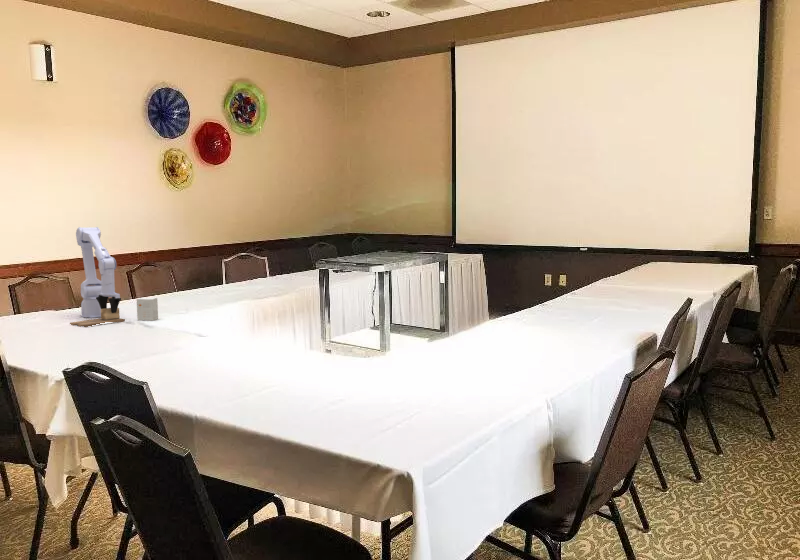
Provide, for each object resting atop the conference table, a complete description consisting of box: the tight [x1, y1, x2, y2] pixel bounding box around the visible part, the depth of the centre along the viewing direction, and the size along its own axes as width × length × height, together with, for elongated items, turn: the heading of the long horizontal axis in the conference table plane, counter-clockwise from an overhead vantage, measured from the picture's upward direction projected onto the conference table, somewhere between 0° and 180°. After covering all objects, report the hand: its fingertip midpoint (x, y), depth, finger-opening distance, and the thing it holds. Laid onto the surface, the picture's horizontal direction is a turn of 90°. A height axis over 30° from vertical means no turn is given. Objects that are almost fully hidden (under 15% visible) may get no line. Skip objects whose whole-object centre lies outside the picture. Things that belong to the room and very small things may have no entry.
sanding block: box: [100, 307, 121, 320], centre depth 310 cm, size 4×7×5 cm, turn 149°
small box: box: [136, 297, 159, 322], centre depth 315 cm, size 8×6×10 cm
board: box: [69, 317, 126, 328], centre depth 305 cm, size 12×20×1 cm, turn 149°
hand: (108, 312), depth 310 cm, fingers open, 7 cm apart
